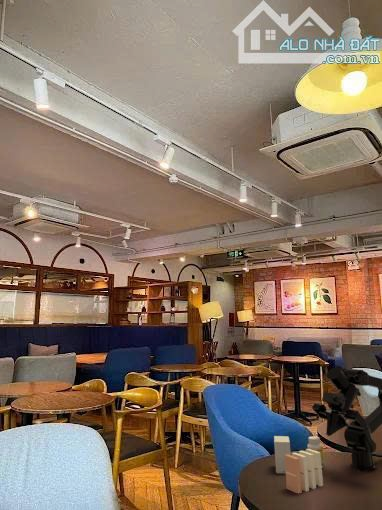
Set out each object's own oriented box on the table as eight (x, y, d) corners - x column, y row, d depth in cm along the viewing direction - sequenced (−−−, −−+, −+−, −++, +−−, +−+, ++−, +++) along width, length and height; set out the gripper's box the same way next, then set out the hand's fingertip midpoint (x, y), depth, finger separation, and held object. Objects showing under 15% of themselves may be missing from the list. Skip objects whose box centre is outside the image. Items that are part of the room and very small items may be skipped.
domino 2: (297, 485, 125) (294, 452, 126) (309, 490, 120) (306, 456, 122) (294, 486, 124) (291, 453, 126) (305, 491, 120) (303, 457, 122)
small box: (292, 474, 134) (290, 442, 136) (276, 473, 135) (274, 441, 137) (291, 466, 142) (288, 435, 144) (275, 465, 143) (273, 435, 145)
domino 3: (304, 482, 126) (301, 450, 128) (316, 488, 122) (313, 454, 124) (301, 483, 125) (298, 451, 127) (313, 489, 121) (310, 455, 123)
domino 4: (311, 480, 128) (308, 448, 130) (323, 485, 124) (320, 452, 126) (308, 481, 127) (305, 449, 129) (320, 486, 123) (317, 453, 125)
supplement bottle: (324, 464, 143) (321, 436, 145) (324, 469, 138) (321, 440, 139) (309, 463, 144) (306, 435, 146) (308, 468, 139) (306, 439, 141)
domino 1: (289, 487, 123) (287, 454, 125) (301, 493, 119) (299, 458, 121) (286, 488, 122) (284, 455, 124) (298, 494, 118) (295, 459, 120)
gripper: (313, 380, 146) (294, 415, 138) (356, 386, 130) (338, 425, 123) (328, 399, 149) (311, 435, 141) (372, 407, 133) (356, 447, 125)
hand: (327, 435), depth 132 cm, fingers closed
